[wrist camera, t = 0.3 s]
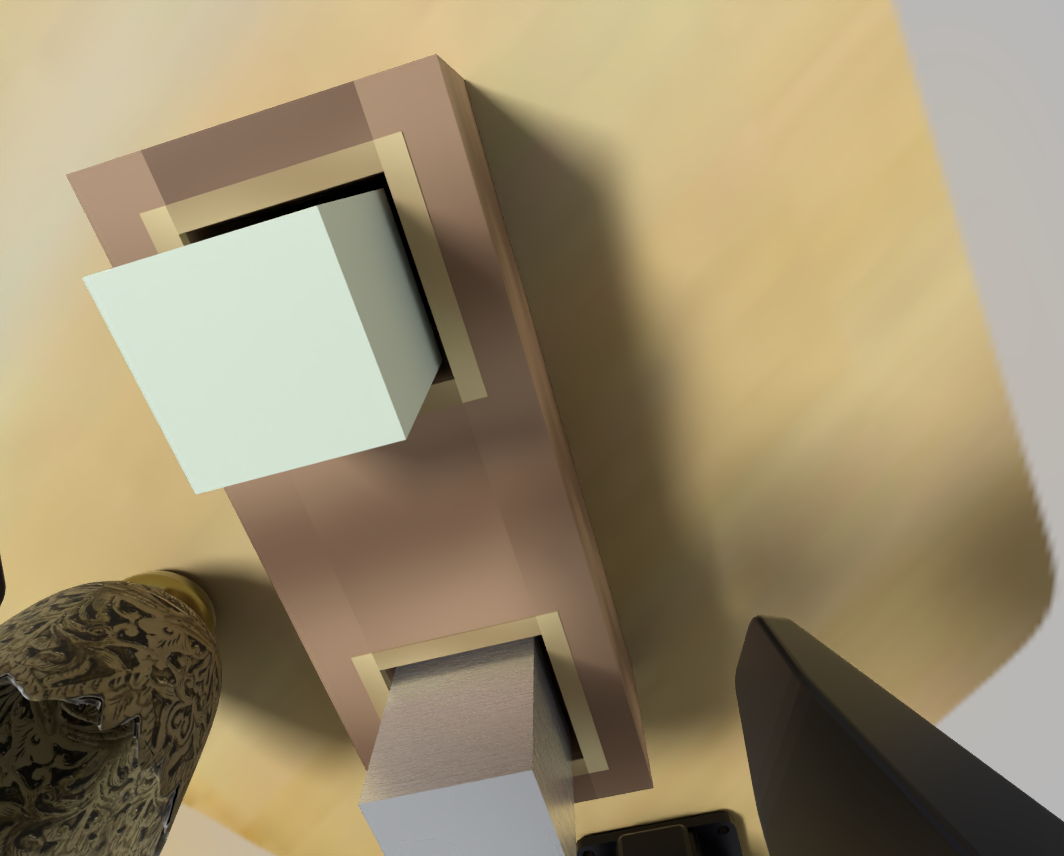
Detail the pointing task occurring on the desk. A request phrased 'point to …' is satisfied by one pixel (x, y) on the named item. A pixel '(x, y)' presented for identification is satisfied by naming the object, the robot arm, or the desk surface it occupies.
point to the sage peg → (276, 340)
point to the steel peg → (473, 758)
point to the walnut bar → (437, 433)
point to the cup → (104, 715)
